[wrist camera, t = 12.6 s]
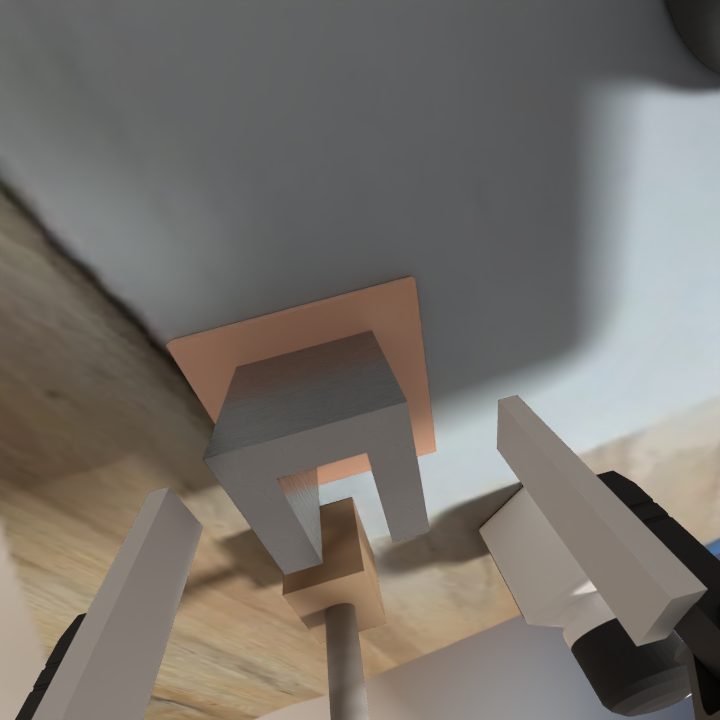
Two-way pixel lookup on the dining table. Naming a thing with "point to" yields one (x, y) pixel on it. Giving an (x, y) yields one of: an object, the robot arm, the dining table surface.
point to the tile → (313, 327)
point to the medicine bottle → (580, 613)
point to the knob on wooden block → (340, 604)
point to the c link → (314, 442)
